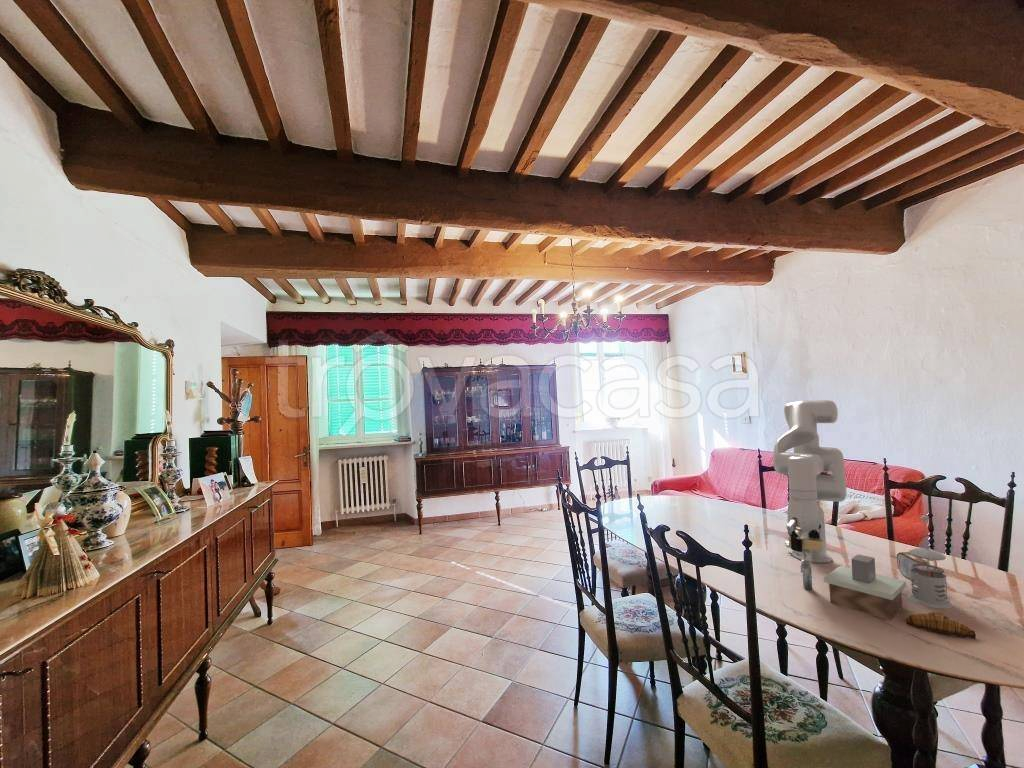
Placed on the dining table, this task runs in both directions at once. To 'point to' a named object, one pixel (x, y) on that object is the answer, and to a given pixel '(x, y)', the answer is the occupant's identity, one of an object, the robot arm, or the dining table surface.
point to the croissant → (939, 624)
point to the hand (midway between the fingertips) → (805, 548)
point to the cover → (865, 578)
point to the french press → (928, 578)
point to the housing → (865, 602)
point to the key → (808, 558)
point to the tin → (908, 564)
